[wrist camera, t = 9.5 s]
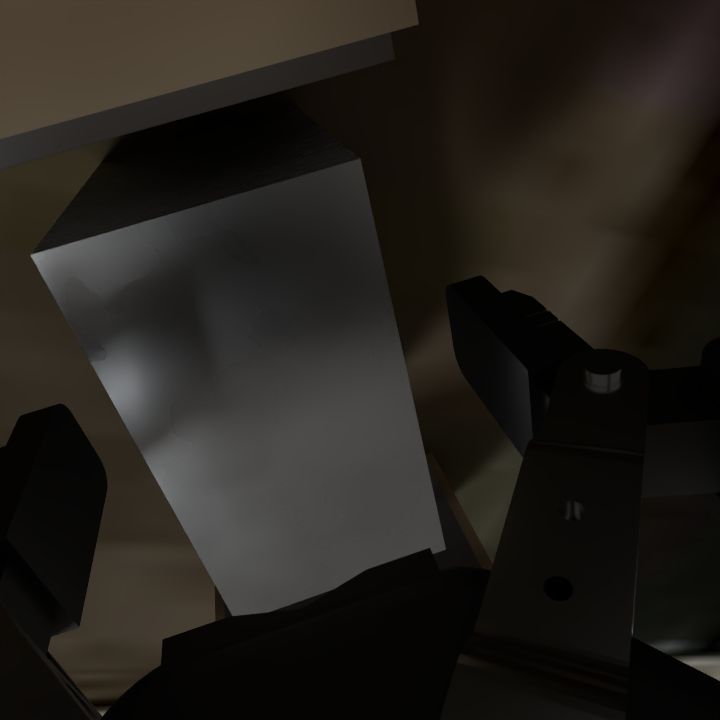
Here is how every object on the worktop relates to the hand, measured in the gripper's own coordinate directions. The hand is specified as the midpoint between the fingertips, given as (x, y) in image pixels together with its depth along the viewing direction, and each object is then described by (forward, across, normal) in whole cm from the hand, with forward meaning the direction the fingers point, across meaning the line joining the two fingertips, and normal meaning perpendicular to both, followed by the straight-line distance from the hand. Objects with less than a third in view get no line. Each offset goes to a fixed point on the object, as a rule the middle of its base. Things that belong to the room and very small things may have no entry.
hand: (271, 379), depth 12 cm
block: (+5, 0, 0) cm, 5 cm away
